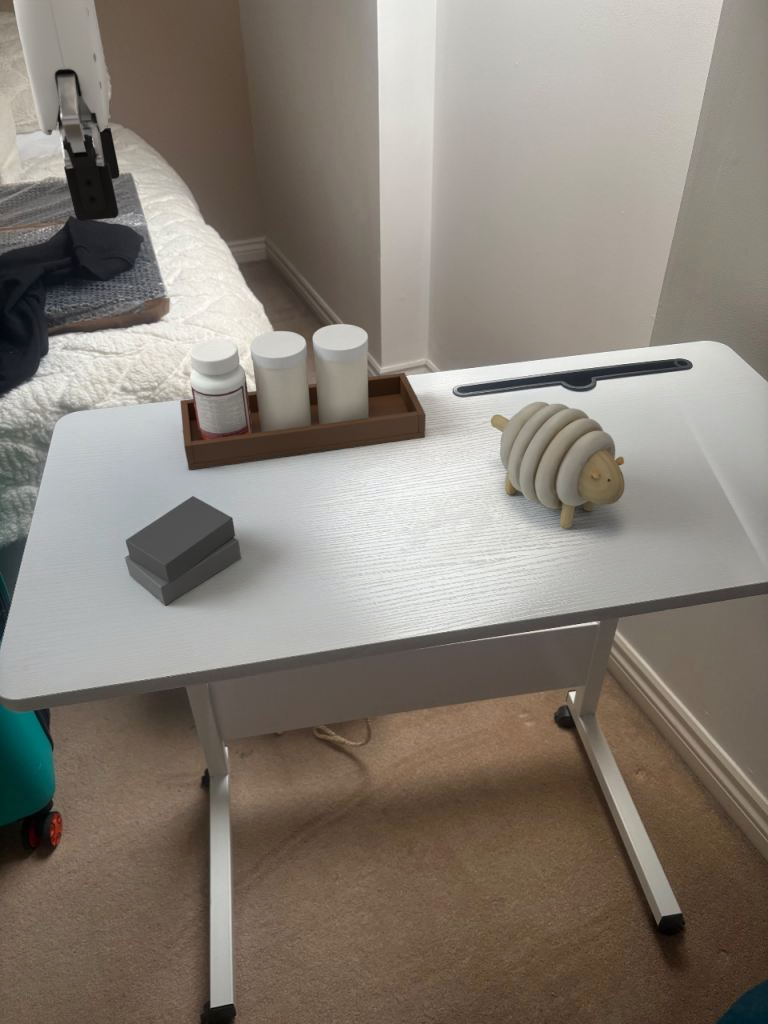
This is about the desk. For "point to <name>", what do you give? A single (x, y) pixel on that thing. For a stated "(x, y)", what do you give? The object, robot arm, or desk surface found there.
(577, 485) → the toy sheep
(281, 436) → the tray
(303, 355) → the white bottle
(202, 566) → the grey books
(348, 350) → the white bottle
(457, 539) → the desk surface
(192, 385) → the pill bottle
